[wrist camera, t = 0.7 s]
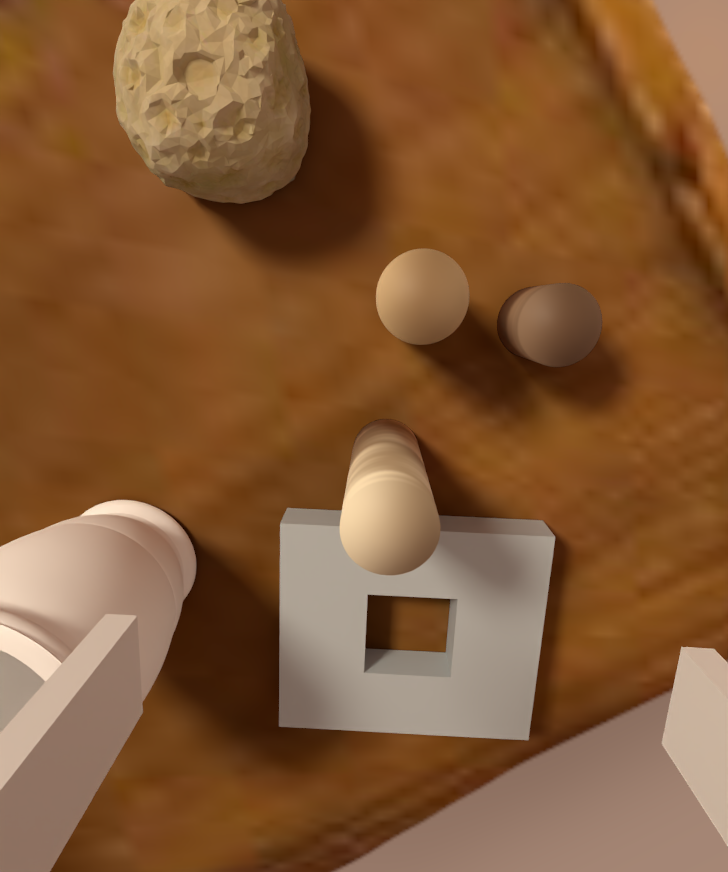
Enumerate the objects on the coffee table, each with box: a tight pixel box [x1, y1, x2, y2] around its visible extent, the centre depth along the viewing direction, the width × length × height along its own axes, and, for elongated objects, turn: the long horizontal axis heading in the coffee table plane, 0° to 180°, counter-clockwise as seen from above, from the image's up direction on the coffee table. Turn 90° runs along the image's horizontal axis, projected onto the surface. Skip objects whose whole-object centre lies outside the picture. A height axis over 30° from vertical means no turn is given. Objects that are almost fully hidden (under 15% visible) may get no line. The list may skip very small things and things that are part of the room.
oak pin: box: [376, 249, 469, 345], centre depth 27 cm, size 4×4×8 cm
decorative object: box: [113, 0, 311, 204], centre depth 26 cm, size 9×10×10 cm
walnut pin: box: [497, 283, 602, 367], centre depth 29 cm, size 4×4×5 cm
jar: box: [0, 500, 196, 733], centre depth 28 cm, size 11×10×15 cm
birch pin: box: [339, 419, 441, 575], centre depth 27 cm, size 4×4×12 cm
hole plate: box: [279, 508, 555, 740], centre depth 35 cm, size 16×14×2 cm
